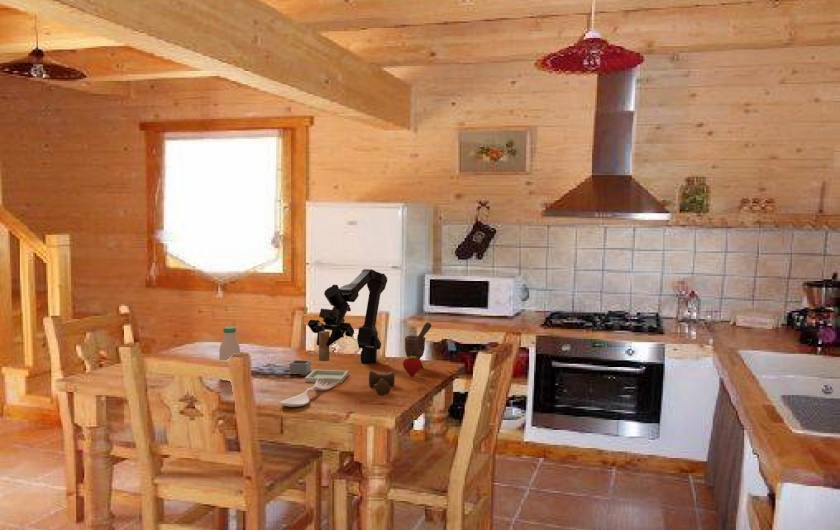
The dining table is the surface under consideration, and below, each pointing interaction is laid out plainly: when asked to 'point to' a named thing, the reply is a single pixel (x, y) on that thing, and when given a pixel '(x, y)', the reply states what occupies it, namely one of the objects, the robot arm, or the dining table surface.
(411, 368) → the strawberry
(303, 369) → the stoneware holder
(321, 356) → the walnut dowel
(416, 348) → the mortar and pestle
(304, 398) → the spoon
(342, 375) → the sage tray
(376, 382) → the kendama
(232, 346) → the milk bottle
